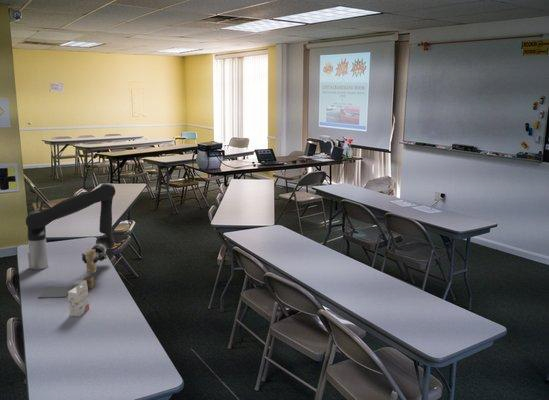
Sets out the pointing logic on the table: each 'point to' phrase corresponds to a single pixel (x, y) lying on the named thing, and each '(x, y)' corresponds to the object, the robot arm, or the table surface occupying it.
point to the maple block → (91, 260)
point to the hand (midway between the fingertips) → (89, 261)
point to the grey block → (77, 283)
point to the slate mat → (56, 292)
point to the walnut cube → (89, 282)
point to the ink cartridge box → (78, 299)
